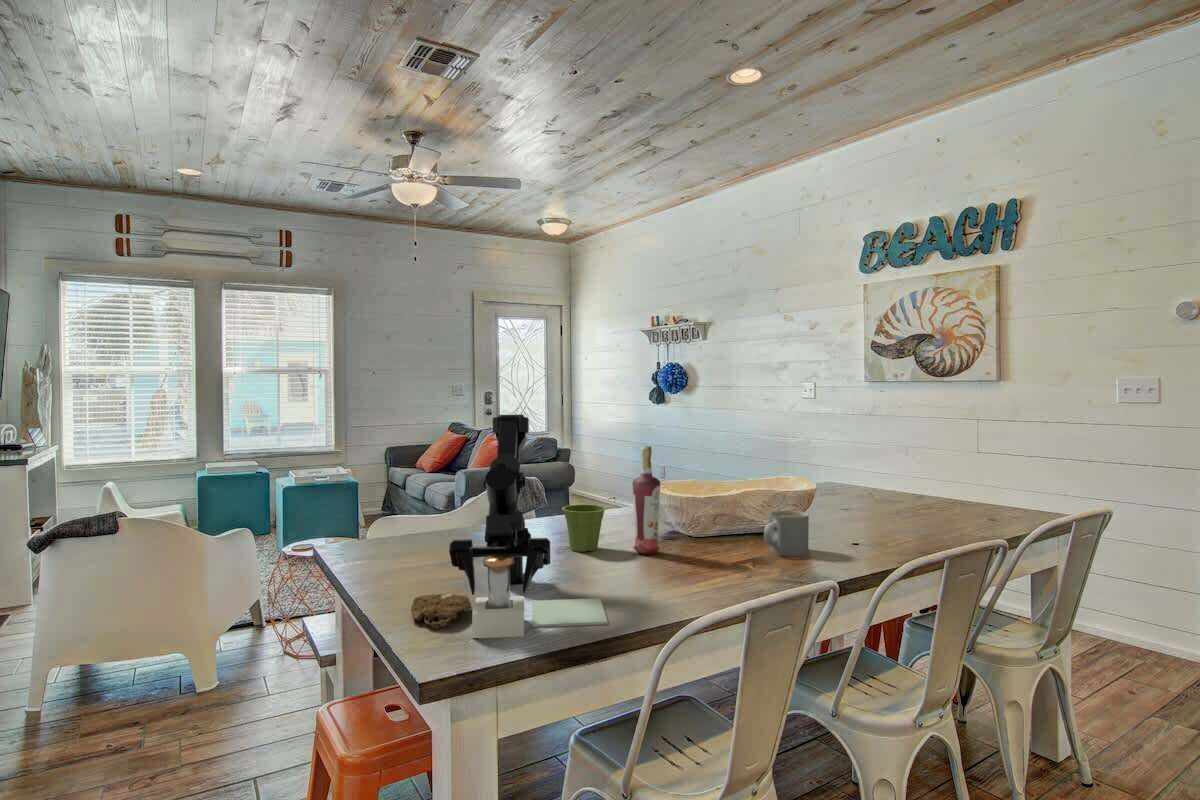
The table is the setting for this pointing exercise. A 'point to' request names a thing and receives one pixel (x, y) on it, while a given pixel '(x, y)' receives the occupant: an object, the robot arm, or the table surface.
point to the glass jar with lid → (498, 580)
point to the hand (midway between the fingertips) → (498, 593)
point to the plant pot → (584, 526)
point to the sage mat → (568, 612)
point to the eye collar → (498, 619)
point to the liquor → (646, 507)
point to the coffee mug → (787, 533)
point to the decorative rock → (439, 608)
